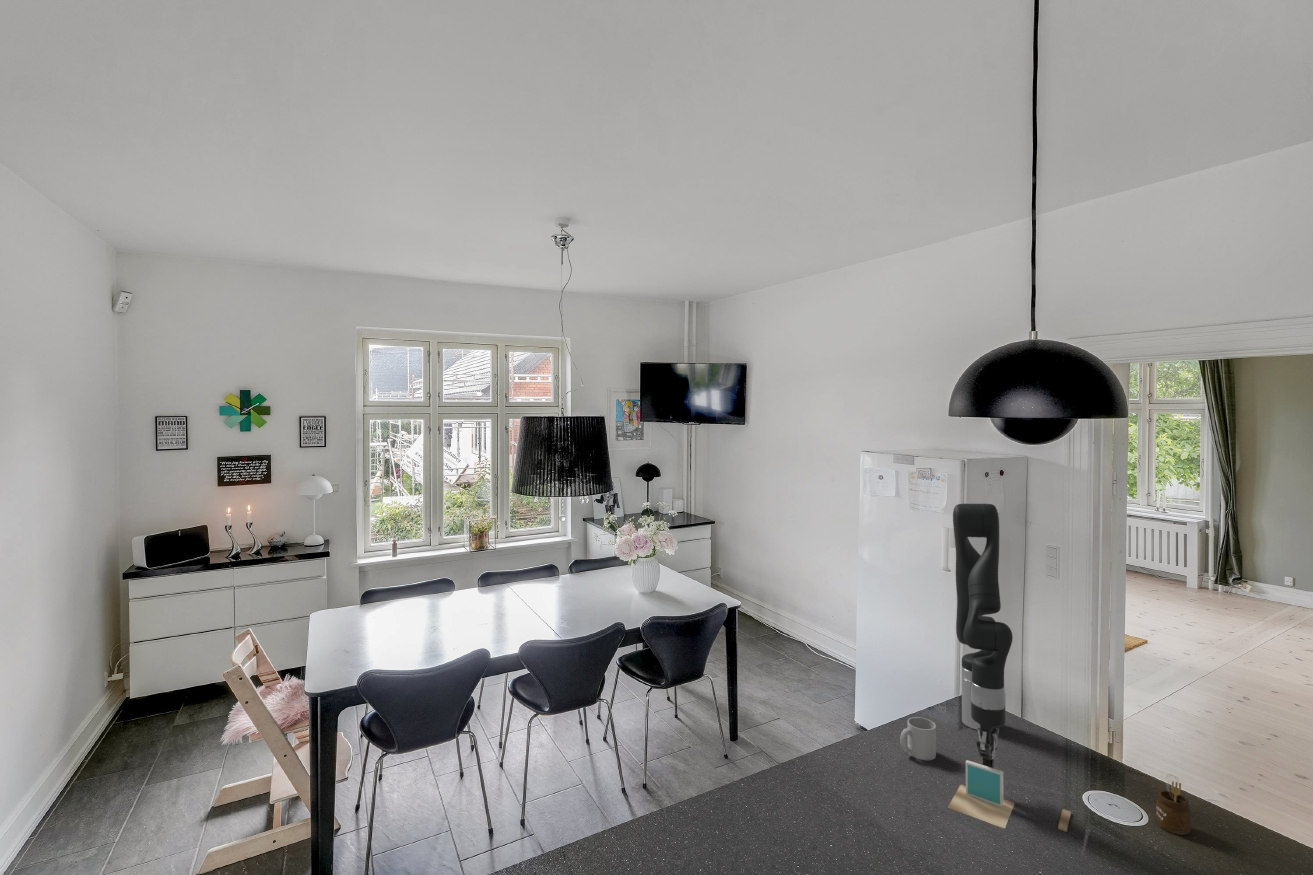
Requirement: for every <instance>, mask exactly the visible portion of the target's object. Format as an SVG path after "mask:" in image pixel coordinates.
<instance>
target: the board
mask: <svg viewBox="0 0 1313 875" xmlns="http://www.w3.org/2000/svg"><path fill="white" fill-rule="evenodd" d="M1003 799H1004V798H1003ZM1015 804H1016V803H1015V802H1013V801H1010V800H1008V799H1004V805H1003V807H1001V806H998V805H995V804H992V803H990V802H987V801H984V800H981V799H978V798H975V797H972V796H970V795H967V794H966V785H964V784H959V786H958V788H957V790H956V792H955V794H954V795H953V797H952V799H951V801H949V804H948V806H947V808H948V809H950V810H953V811H955V812H957V813H961V814H964V815H967V816H969V817H972V818H975V819H976V820H980V821H983V822H984V823H985V822H986V823H988V824H991V825H993V826H996V827H999V828H1001V829H1006V827H1007V825H1008V821H1009V819H1010V818H1011V814H1012V811H1013V809H1014V806H1015Z"/></svg>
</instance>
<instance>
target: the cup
mask: <svg viewBox="0 0 1313 875" xmlns="http://www.w3.org/2000/svg"><path fill="white" fill-rule="evenodd" d="M906 722H907V723H906V724H907V727H906V728H904V729H903V730H901V733H900V738H899V741H900V742H899V743H900V746H901V749H902V751H904V752H905V753H908V755H909V757H913V758H915V759H917V760H921V761H932V760H934V759H936V757H937V725H936V723H935V722H934V721H932V720H930V719H928V718H926V717H921V716H914V717H912V716H911V717H910V718H908V719H907V721H906Z"/></svg>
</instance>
